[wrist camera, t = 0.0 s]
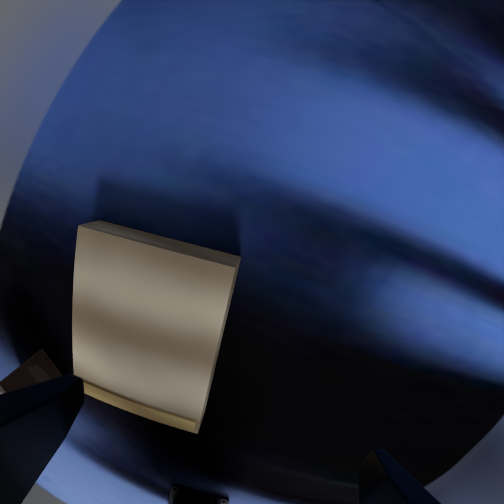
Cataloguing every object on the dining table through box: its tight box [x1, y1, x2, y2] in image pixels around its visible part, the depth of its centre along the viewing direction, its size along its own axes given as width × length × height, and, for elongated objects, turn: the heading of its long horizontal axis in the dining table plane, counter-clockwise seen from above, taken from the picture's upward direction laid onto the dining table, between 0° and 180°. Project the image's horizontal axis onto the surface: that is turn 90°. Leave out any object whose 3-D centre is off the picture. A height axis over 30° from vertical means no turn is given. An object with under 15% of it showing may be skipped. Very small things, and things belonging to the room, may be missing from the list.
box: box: [0, 349, 63, 394], centre depth 23 cm, size 6×6×7 cm
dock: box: [72, 220, 241, 434], centre depth 22 cm, size 14×11×3 cm
